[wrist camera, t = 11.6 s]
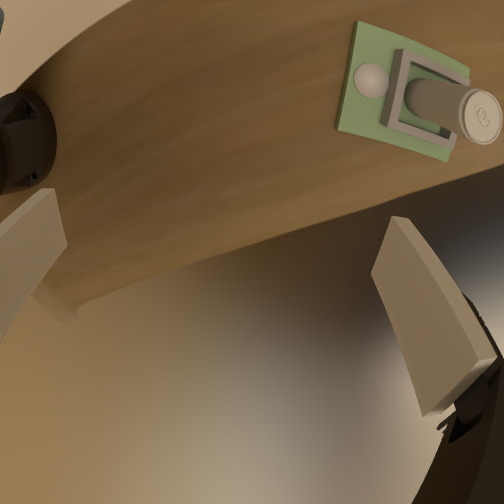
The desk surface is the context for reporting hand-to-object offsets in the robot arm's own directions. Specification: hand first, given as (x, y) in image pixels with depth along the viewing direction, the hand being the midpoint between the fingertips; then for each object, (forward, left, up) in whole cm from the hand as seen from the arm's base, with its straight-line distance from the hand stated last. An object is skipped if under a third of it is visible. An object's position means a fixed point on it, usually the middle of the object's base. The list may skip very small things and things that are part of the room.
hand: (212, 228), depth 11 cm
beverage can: (+18, +7, -23) cm, 30 cm away
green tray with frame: (+17, +7, -25) cm, 31 cm away
